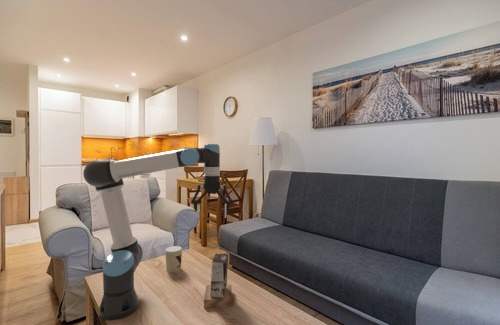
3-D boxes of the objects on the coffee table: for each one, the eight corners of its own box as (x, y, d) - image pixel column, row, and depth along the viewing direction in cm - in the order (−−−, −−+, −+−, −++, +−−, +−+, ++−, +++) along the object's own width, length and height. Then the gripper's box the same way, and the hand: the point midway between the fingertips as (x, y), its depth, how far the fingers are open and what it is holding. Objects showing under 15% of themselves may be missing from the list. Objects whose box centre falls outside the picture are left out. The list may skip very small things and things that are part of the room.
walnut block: (203, 308, 114) (203, 299, 113) (206, 293, 126) (206, 285, 125) (231, 307, 115) (231, 299, 114) (231, 292, 127) (231, 284, 126)
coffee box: (224, 298, 115) (226, 263, 114) (209, 296, 115) (211, 261, 114) (226, 286, 124) (229, 253, 123) (213, 285, 124) (215, 252, 123)
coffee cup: (179, 273, 144) (179, 252, 144) (162, 273, 144) (162, 251, 144) (184, 265, 154) (184, 245, 153) (168, 265, 154) (168, 245, 153)
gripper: (185, 175, 125) (185, 219, 126) (237, 176, 127) (237, 219, 128) (187, 174, 132) (188, 215, 134) (237, 174, 134) (236, 215, 135)
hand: (211, 217), depth 131 cm, fingers open, 13 cm apart
